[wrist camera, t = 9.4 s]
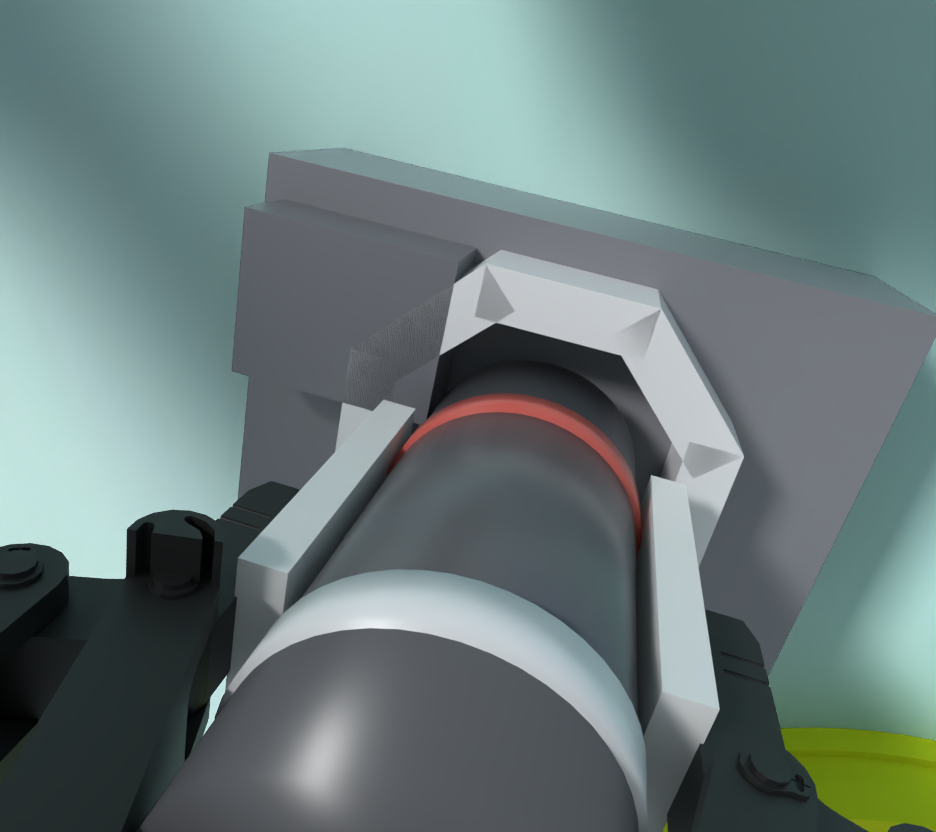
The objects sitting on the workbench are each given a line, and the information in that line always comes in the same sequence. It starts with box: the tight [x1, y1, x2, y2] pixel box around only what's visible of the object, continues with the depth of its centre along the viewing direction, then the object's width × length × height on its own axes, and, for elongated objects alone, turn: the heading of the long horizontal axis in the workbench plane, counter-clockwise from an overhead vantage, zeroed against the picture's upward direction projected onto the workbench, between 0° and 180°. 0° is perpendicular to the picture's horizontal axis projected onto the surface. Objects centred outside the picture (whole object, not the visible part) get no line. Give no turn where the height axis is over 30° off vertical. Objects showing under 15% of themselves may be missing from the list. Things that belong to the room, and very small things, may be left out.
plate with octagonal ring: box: [232, 148, 936, 676], centre depth 20 cm, size 16×11×7 cm
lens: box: [135, 361, 648, 832], centre depth 12 cm, size 5×5×12 cm
